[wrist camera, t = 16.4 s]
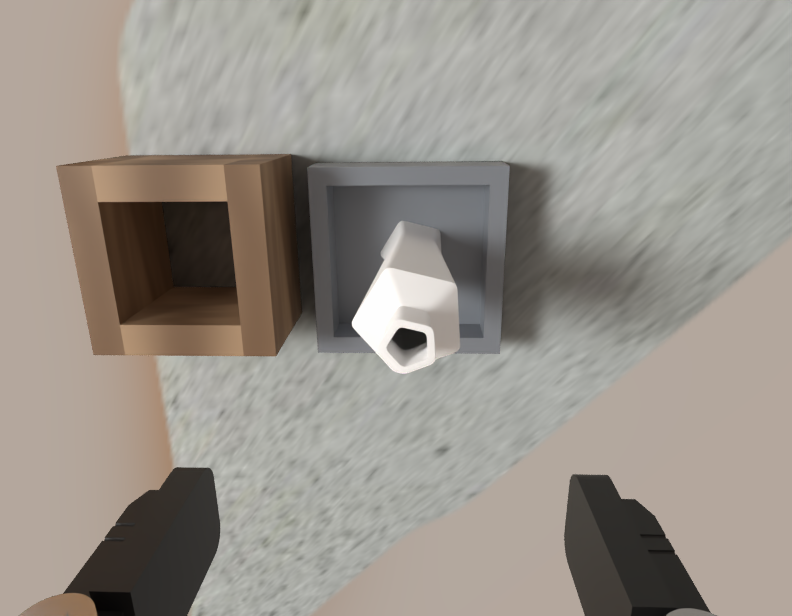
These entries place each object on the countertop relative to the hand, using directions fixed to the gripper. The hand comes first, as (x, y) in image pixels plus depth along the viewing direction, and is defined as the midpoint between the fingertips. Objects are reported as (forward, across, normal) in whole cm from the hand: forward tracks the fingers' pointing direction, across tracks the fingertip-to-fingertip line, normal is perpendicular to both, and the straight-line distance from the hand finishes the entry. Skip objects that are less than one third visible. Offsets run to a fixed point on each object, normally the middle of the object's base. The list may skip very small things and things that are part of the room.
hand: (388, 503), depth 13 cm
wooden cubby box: (+24, +12, -1) cm, 27 cm away
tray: (+24, 0, 0) cm, 24 cm away
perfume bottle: (+24, 0, 0) cm, 24 cm away
